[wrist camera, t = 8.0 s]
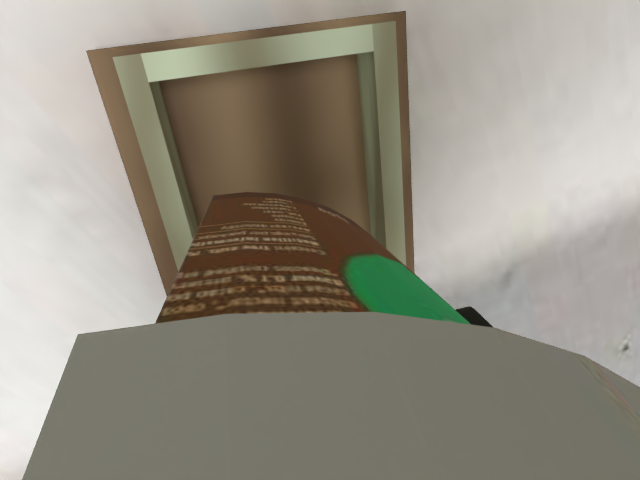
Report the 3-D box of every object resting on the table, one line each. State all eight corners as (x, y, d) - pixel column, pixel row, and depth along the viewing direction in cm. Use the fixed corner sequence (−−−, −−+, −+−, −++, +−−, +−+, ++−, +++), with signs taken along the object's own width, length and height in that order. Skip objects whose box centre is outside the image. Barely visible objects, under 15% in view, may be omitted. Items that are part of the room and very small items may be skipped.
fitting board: (395, 14, 20) (429, 2, 16) (413, 443, 32) (435, 487, 29) (94, 52, 18) (63, 47, 14) (237, 494, 30) (238, 547, 27)
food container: (441, 437, 15) (731, 964, 6) (282, 478, 15) (352, 1140, 6) (440, 98, 10) (1854, 299, 1) (198, 136, 10) (-459, 1195, 1)
